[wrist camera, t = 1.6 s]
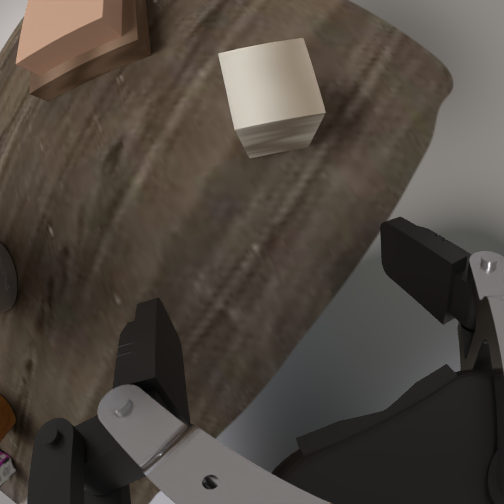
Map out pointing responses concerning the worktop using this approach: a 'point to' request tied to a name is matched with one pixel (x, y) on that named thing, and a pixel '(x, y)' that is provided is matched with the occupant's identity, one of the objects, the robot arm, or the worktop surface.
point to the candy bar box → (5, 467)
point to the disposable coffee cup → (5, 418)
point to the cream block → (272, 96)
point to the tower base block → (99, 55)
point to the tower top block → (65, 30)
